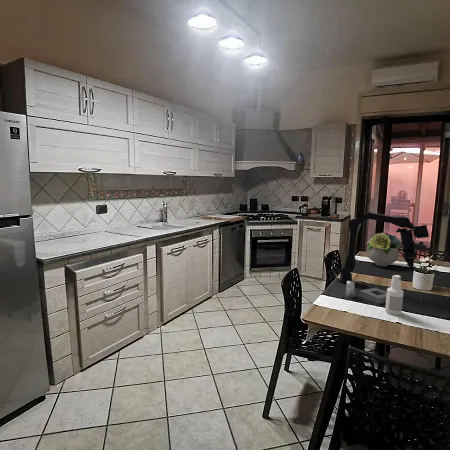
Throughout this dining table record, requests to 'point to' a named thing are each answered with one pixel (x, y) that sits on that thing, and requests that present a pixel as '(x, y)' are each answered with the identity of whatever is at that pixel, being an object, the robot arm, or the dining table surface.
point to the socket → (374, 295)
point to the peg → (350, 288)
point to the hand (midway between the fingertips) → (411, 267)
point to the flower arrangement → (383, 249)
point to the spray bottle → (394, 296)
